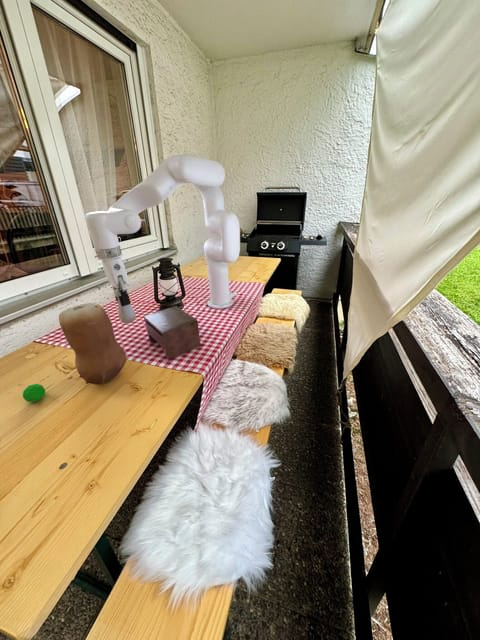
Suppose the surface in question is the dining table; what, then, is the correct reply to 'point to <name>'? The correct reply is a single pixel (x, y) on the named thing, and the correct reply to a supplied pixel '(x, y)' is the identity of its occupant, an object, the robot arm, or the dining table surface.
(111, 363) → the butternut squash
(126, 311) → the salt shaker
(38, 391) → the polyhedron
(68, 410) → the dining table surface
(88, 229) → the robot arm
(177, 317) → the dark walnut cube
